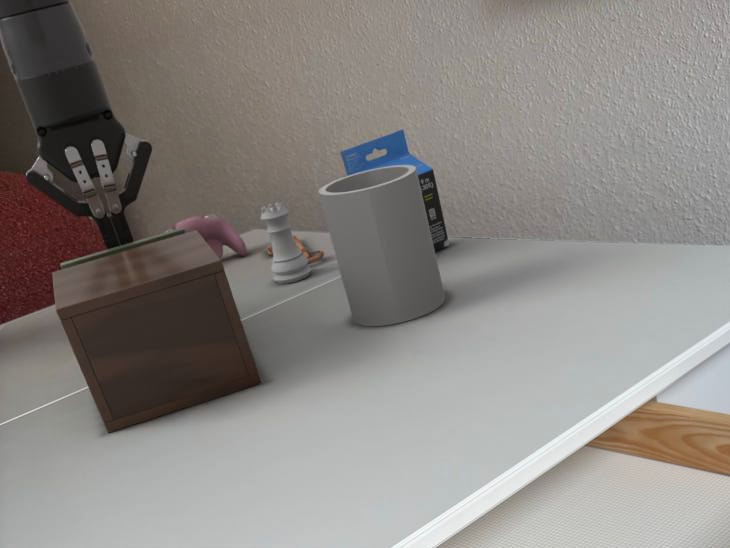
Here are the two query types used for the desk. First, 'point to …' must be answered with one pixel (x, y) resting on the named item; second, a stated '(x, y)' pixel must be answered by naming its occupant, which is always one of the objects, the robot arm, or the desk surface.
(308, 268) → the white chess rook
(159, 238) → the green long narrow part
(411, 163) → the tape cartridge
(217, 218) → the video game controller
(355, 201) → the cup
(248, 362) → the cabinet
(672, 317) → the desk surface
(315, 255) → the key
